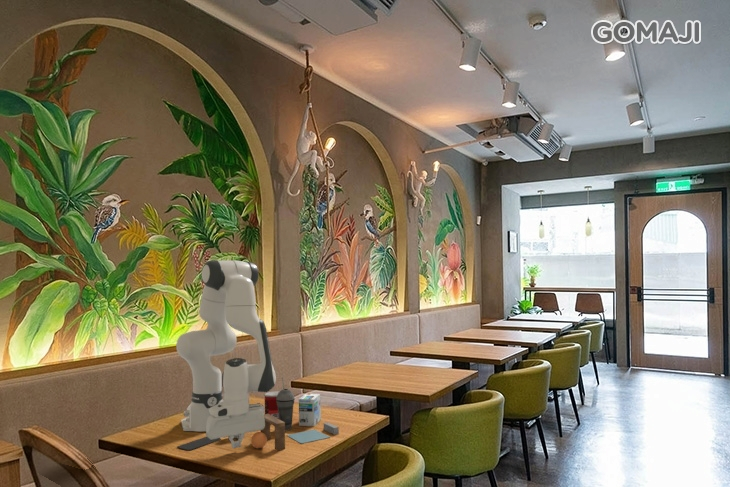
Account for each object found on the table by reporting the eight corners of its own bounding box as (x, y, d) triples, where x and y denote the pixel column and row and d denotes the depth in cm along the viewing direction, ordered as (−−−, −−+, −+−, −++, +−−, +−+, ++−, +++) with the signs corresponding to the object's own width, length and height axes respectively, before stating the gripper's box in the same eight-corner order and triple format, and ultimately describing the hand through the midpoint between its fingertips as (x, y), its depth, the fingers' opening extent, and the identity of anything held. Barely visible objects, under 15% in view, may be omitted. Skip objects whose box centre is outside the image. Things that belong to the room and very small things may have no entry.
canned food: (287, 418, 224) (287, 392, 224) (274, 423, 217) (274, 396, 218) (273, 416, 228) (273, 390, 228) (260, 420, 221) (260, 394, 222)
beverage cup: (291, 432, 205) (290, 379, 206) (273, 431, 206) (273, 379, 207) (297, 426, 212) (297, 376, 213) (280, 425, 213) (279, 375, 214)
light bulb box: (314, 426, 212) (314, 399, 212) (298, 426, 213) (298, 399, 213) (321, 419, 222) (321, 393, 223) (305, 418, 223) (305, 392, 224)
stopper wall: (323, 429, 207) (323, 423, 207) (328, 428, 208) (328, 422, 208) (334, 434, 201) (334, 428, 201) (338, 433, 202) (338, 427, 202)
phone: (222, 438, 197) (189, 450, 184) (222, 441, 197) (189, 452, 184) (208, 435, 201) (175, 446, 188) (208, 437, 201) (175, 449, 188)
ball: (266, 431, 191) (262, 446, 190) (251, 429, 189) (248, 445, 188) (270, 434, 186) (266, 450, 185) (255, 433, 184) (251, 449, 183)
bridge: (277, 450, 184) (277, 423, 184) (260, 440, 196) (260, 415, 196) (285, 448, 186) (284, 422, 186) (268, 438, 197) (267, 413, 198)
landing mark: (286, 435, 200) (286, 435, 200) (314, 429, 207) (314, 429, 207) (301, 443, 190) (301, 443, 190) (330, 437, 197) (330, 437, 197)
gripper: (260, 400, 192) (261, 439, 191) (204, 409, 181) (204, 450, 180) (267, 403, 187) (268, 443, 186) (210, 413, 176) (210, 455, 175)
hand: (236, 447), depth 183 cm, fingers closed
